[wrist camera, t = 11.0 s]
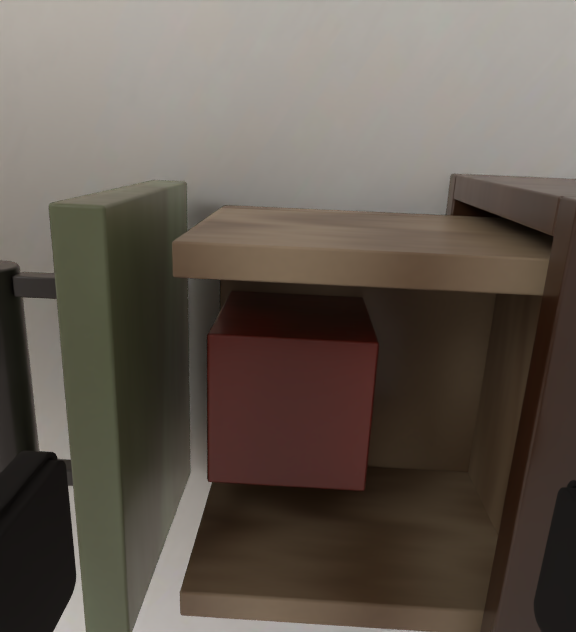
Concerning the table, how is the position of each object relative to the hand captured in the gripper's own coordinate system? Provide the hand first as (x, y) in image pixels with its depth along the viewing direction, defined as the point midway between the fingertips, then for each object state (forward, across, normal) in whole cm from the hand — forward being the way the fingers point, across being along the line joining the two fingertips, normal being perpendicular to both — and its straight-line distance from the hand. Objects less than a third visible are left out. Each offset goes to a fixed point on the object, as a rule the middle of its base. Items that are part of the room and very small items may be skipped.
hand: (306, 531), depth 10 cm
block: (+9, 0, 0) cm, 9 cm away
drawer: (+10, +1, 0) cm, 10 cm away
